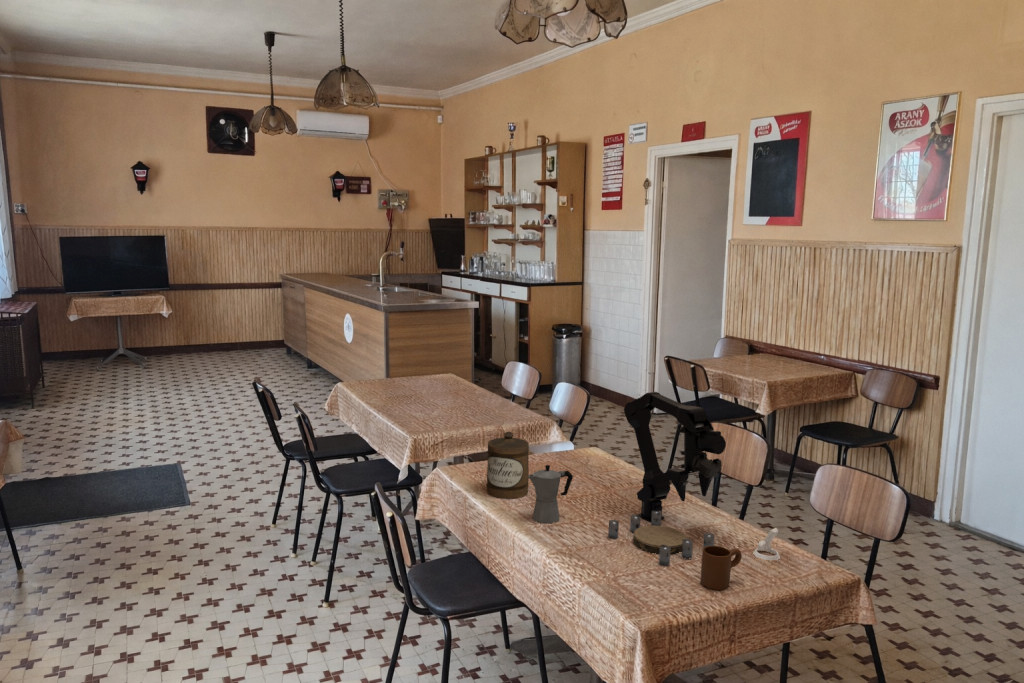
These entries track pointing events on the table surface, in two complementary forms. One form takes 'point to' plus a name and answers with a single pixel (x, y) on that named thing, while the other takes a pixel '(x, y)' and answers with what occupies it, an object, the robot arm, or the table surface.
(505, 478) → the wooden container
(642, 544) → the brown wooden disc
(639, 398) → the robot arm
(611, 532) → the grey metal cylinder set
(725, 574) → the mug
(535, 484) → the coffeepot
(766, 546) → the hook
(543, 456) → the table surface
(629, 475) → the table surface
